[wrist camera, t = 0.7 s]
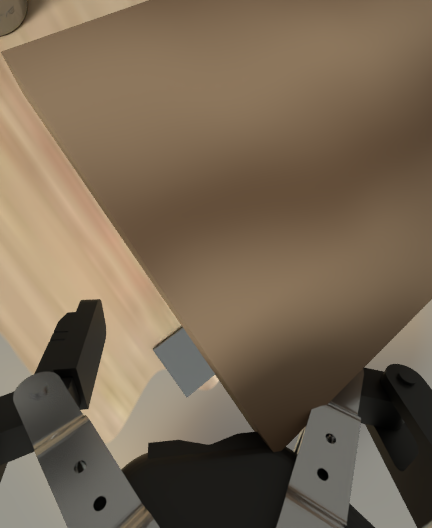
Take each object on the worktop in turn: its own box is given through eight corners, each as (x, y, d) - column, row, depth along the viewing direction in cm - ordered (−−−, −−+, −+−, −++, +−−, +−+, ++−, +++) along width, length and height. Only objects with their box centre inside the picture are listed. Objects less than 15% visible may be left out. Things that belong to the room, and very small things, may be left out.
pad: (152, 349, 34) (153, 350, 33) (226, 294, 37) (228, 294, 36) (185, 395, 35) (186, 397, 34) (255, 338, 38) (257, 339, 37)
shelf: (99, 236, 32) (0, 52, 6) (206, 173, 37) (430, -98, 10) (154, 316, 34) (275, 455, 7) (251, 247, 38) (550, 179, 12)
